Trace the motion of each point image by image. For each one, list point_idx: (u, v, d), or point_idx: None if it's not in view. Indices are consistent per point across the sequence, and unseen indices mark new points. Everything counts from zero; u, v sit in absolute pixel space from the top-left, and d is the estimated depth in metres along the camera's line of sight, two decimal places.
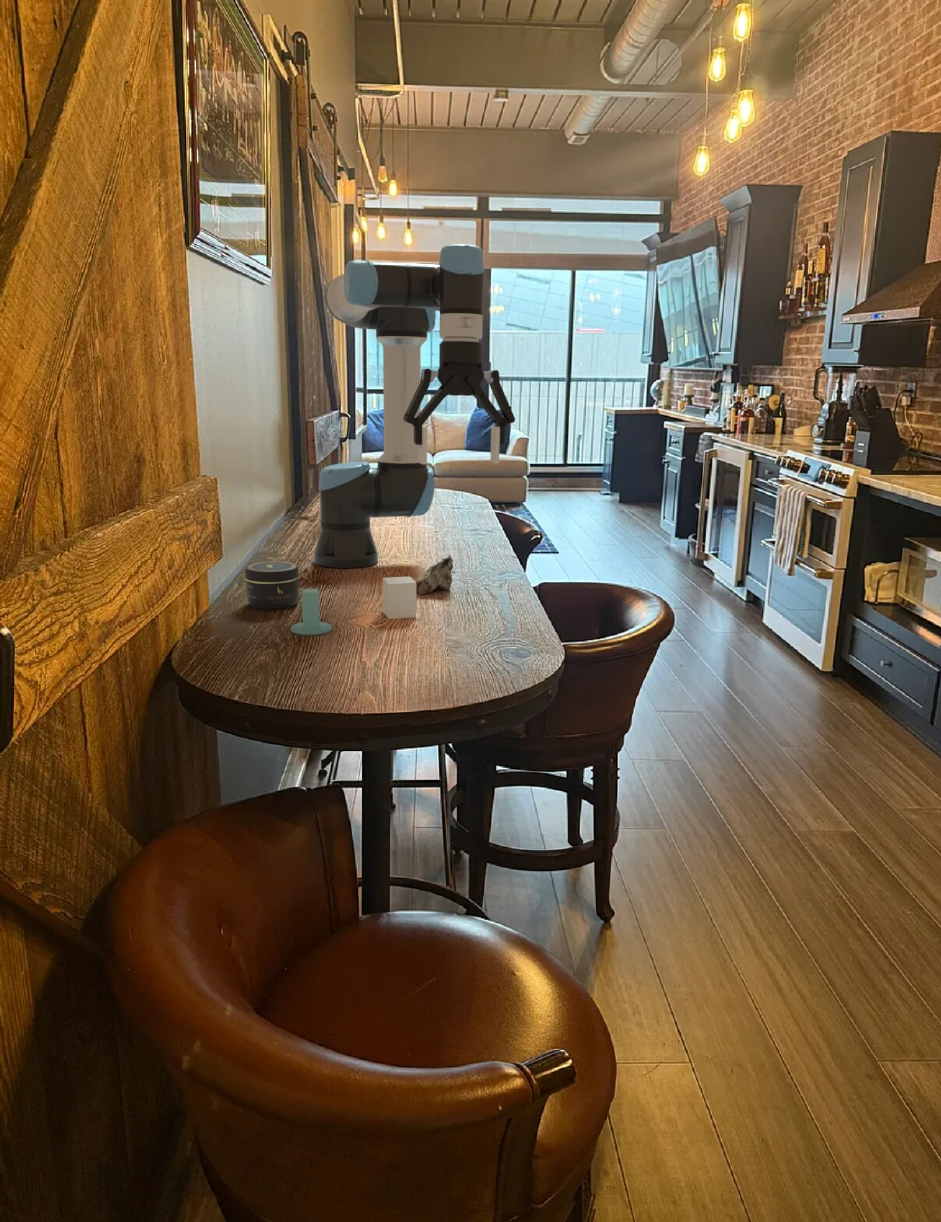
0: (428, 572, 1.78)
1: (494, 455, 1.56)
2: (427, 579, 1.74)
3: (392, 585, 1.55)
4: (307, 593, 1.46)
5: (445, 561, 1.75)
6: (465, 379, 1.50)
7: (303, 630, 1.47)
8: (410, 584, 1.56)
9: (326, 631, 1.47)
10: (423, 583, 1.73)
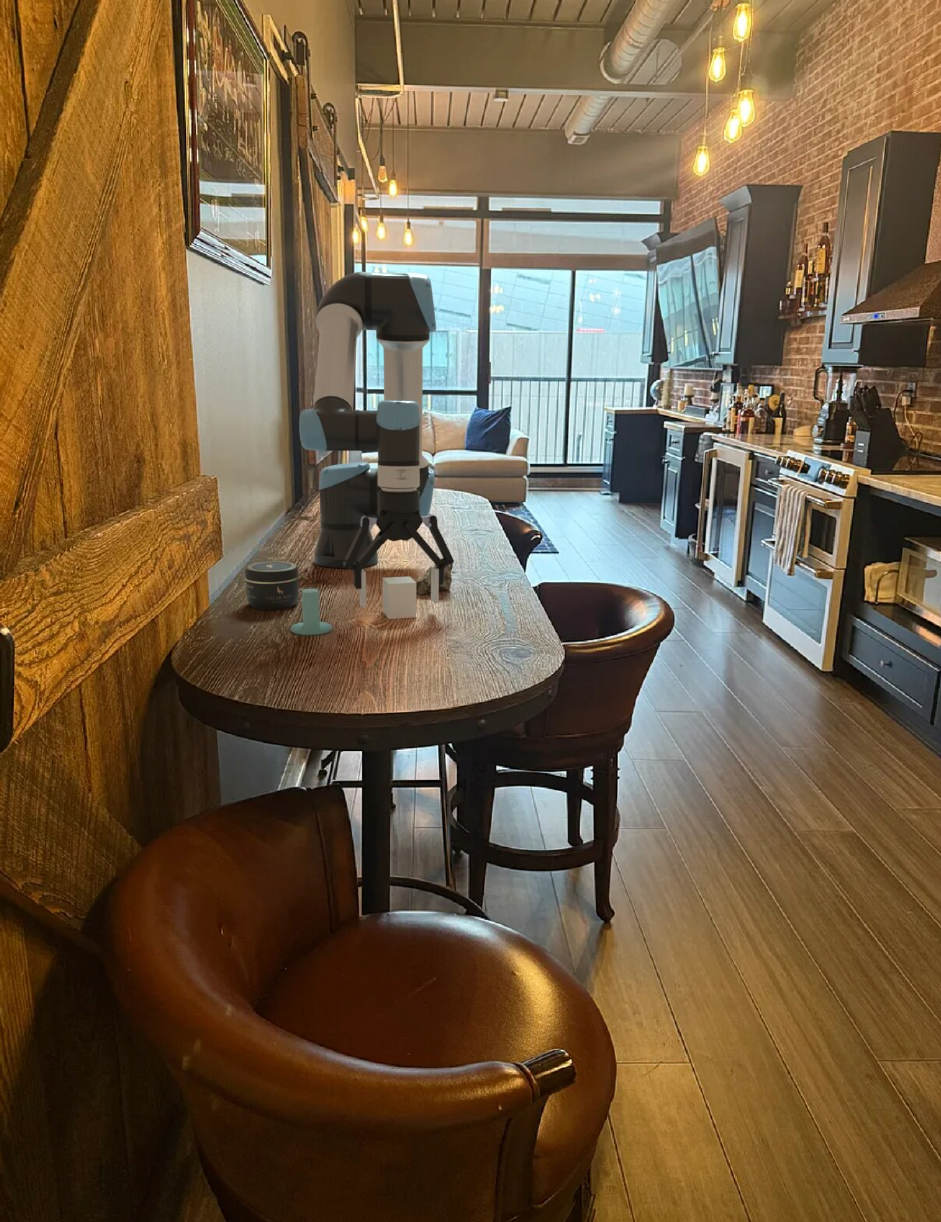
0: (428, 572, 1.77)
1: (434, 595, 1.59)
2: (426, 579, 1.73)
3: (392, 585, 1.55)
4: (307, 593, 1.46)
5: None
6: (403, 525, 1.54)
7: (303, 630, 1.47)
8: (410, 584, 1.56)
9: (326, 631, 1.47)
10: (422, 583, 1.73)
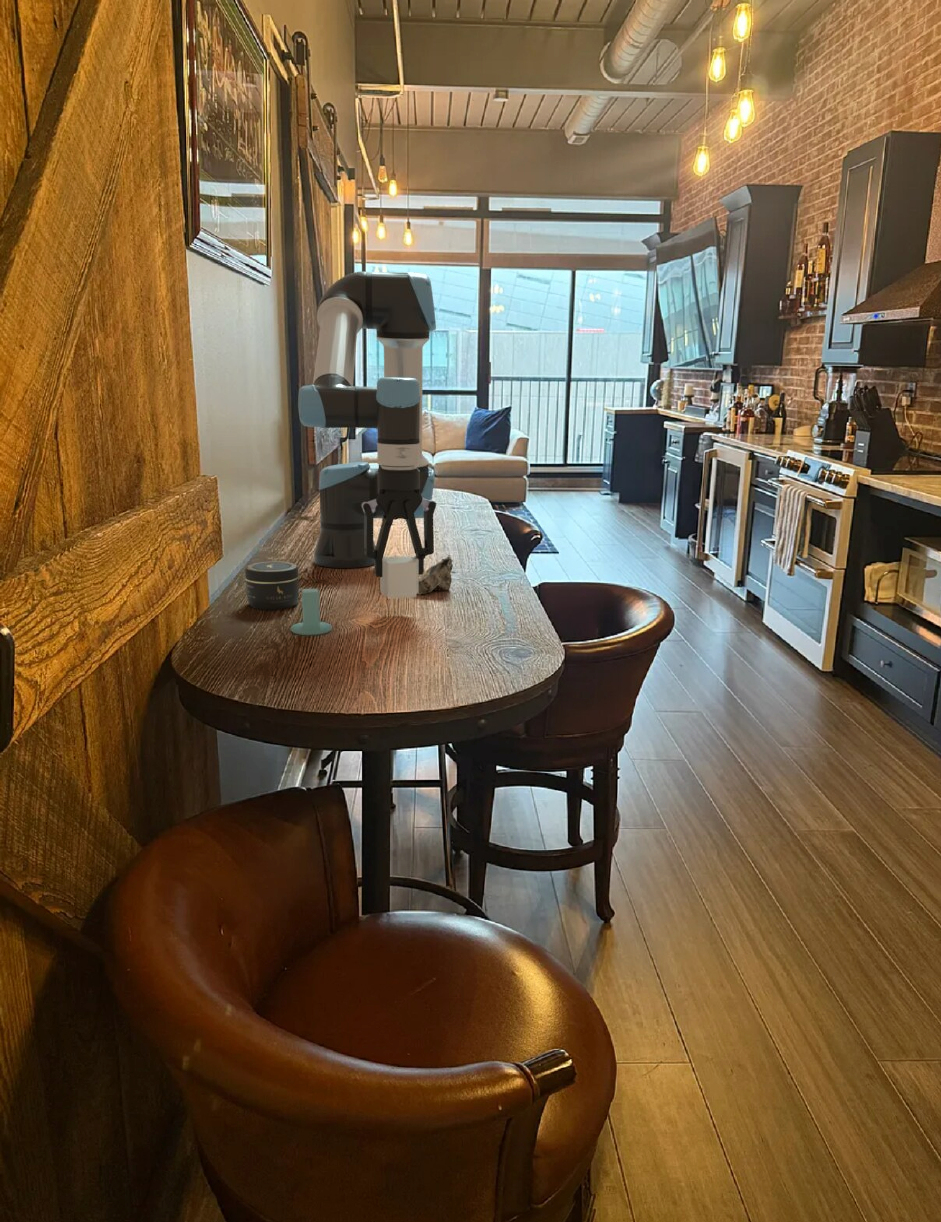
0: (427, 572, 1.77)
1: None
2: (426, 579, 1.73)
3: (392, 565, 1.54)
4: (307, 593, 1.46)
5: (444, 561, 1.74)
6: (403, 502, 1.53)
7: (303, 630, 1.47)
8: (410, 564, 1.55)
9: (326, 631, 1.47)
10: (422, 583, 1.73)
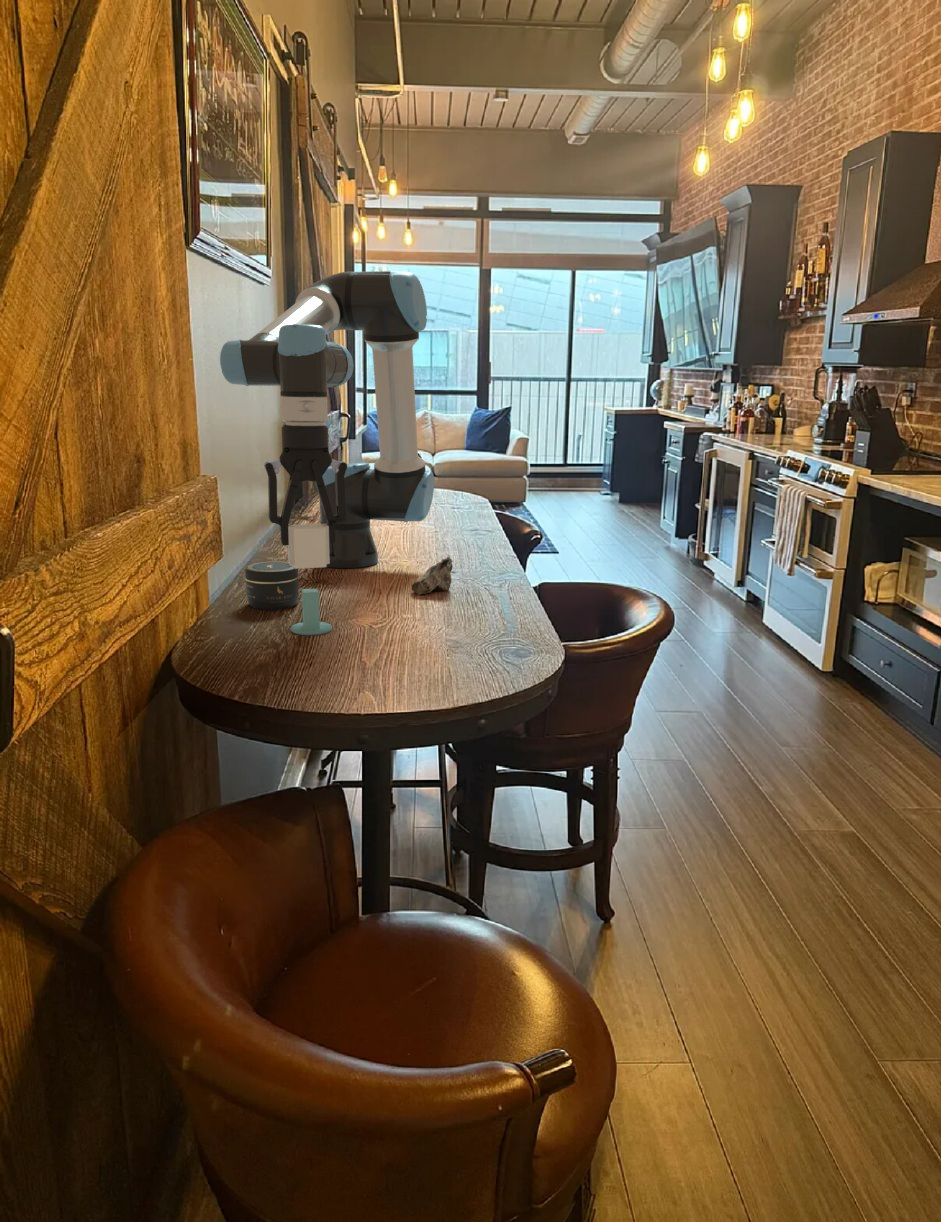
0: (427, 573, 1.77)
1: None
2: (425, 580, 1.73)
3: (298, 530, 1.41)
4: (307, 593, 1.46)
5: (444, 562, 1.74)
6: (310, 462, 1.40)
7: (303, 630, 1.47)
8: (318, 530, 1.42)
9: (326, 631, 1.47)
10: (421, 584, 1.73)
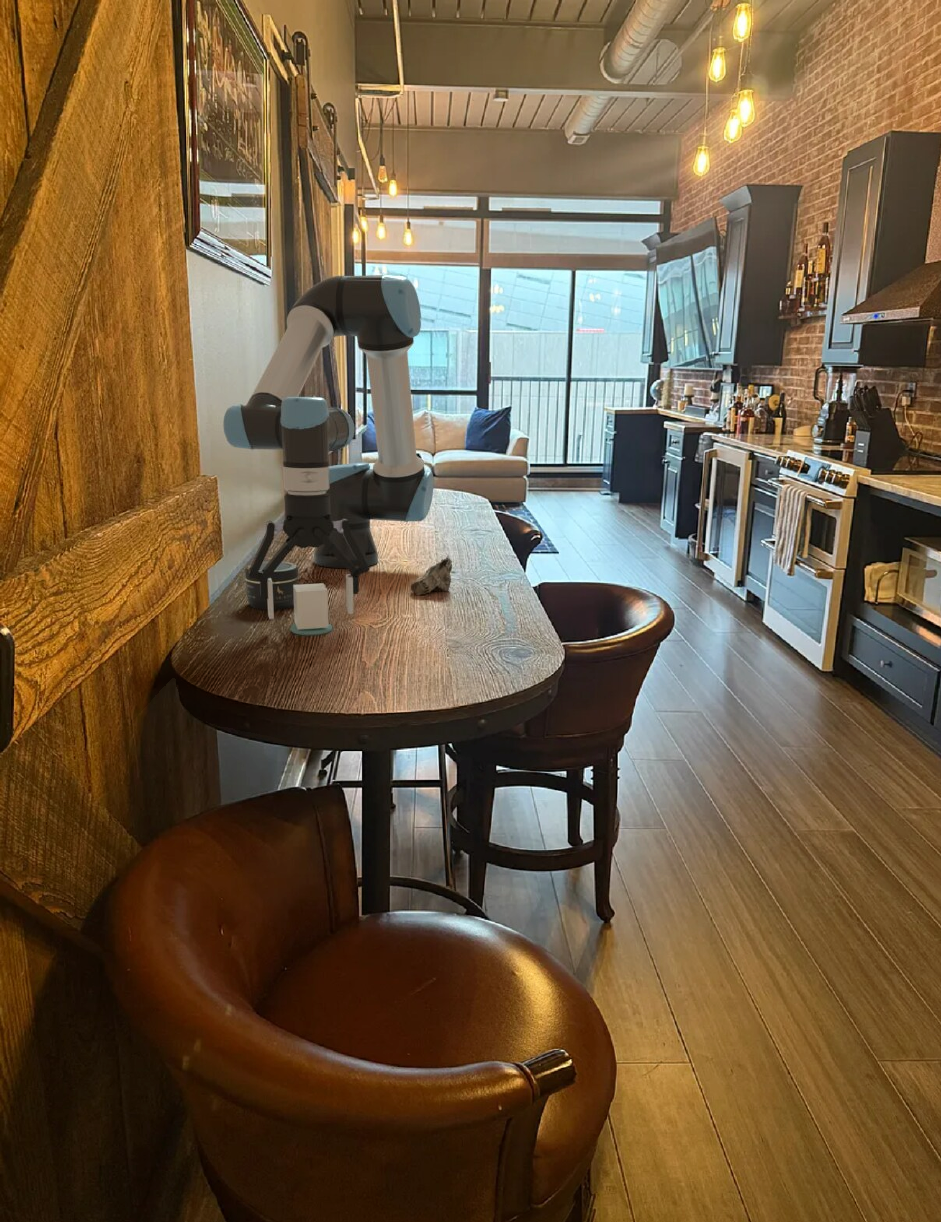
0: (427, 573, 1.77)
1: (348, 605, 1.49)
2: (424, 580, 1.73)
3: (301, 593, 1.44)
4: None
5: (443, 562, 1.74)
6: (312, 531, 1.44)
7: (303, 630, 1.47)
8: (321, 592, 1.45)
9: (326, 631, 1.47)
10: (420, 584, 1.72)
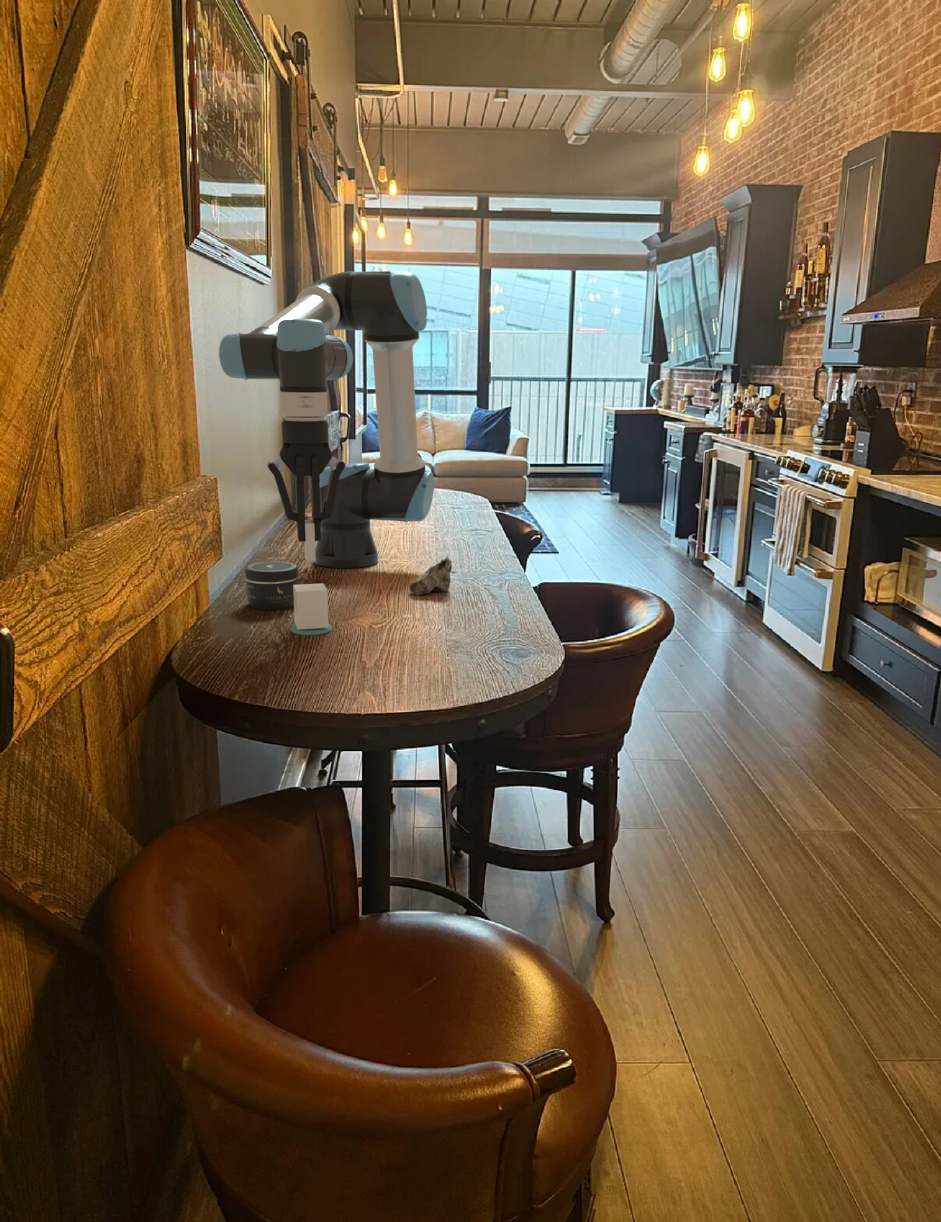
0: (426, 573, 1.76)
1: None
2: (423, 580, 1.73)
3: (301, 593, 1.44)
4: None
5: (442, 562, 1.73)
6: (311, 456, 1.40)
7: (303, 630, 1.47)
8: (321, 592, 1.45)
9: (326, 631, 1.47)
10: (419, 584, 1.72)
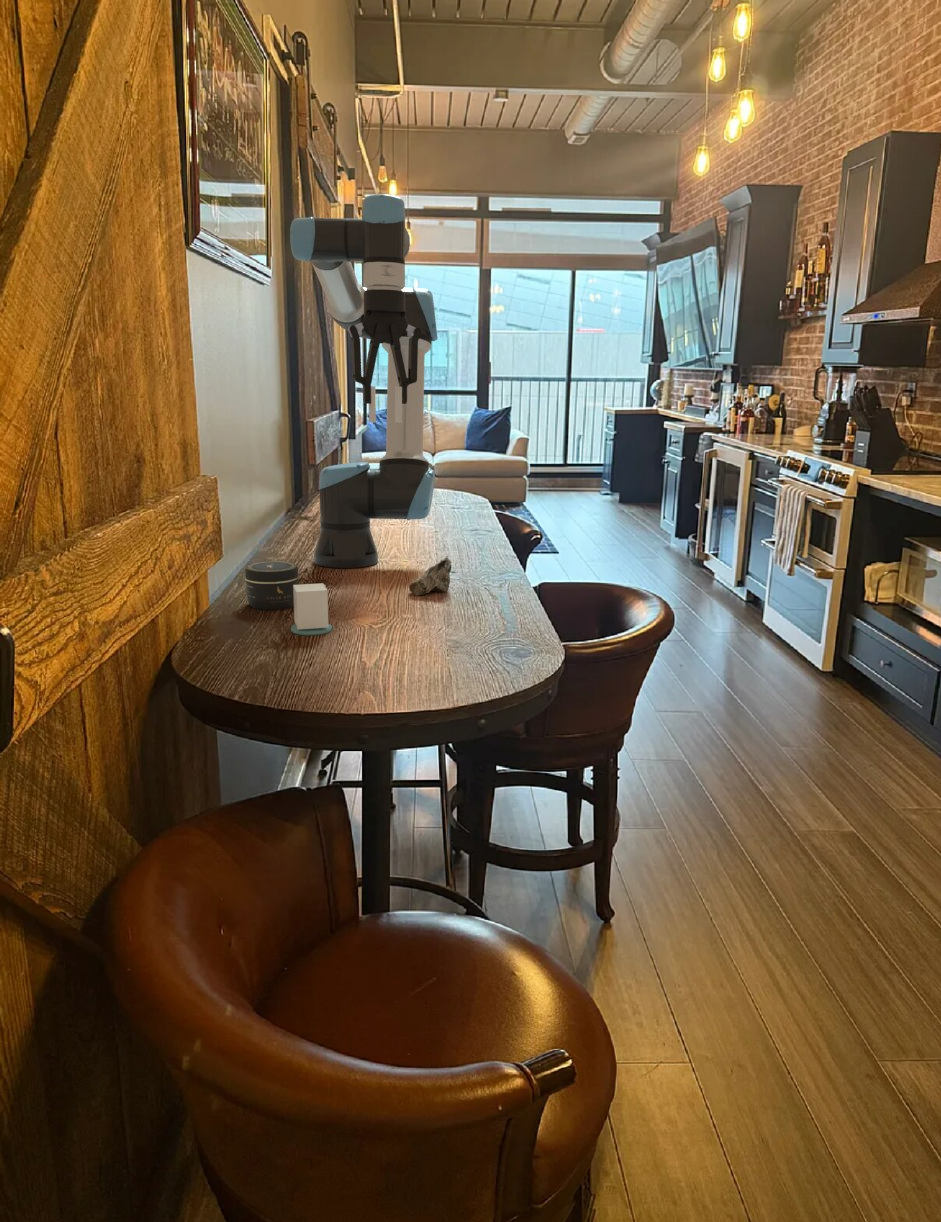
0: (426, 573, 1.76)
1: (397, 414, 1.60)
2: (422, 580, 1.72)
3: (301, 593, 1.44)
4: None
5: (441, 563, 1.73)
6: (389, 325, 1.55)
7: (303, 630, 1.47)
8: (321, 592, 1.45)
9: (326, 631, 1.47)
10: (418, 584, 1.72)
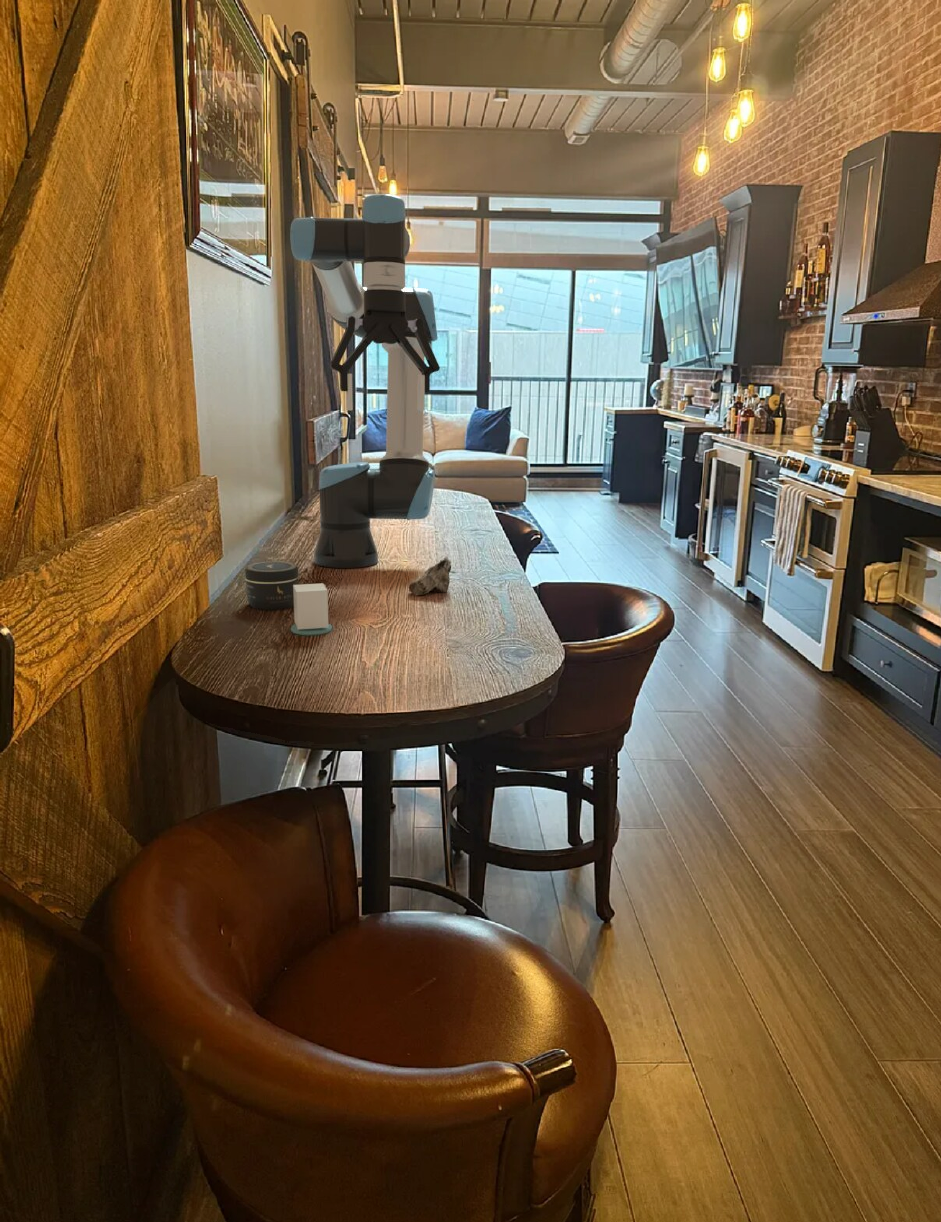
0: (425, 573, 1.76)
1: (420, 403, 1.61)
2: (422, 580, 1.72)
3: (301, 593, 1.44)
4: None
5: (441, 563, 1.73)
6: (389, 327, 1.55)
7: (303, 630, 1.47)
8: (321, 592, 1.45)
9: (326, 631, 1.47)
10: (417, 584, 1.72)
